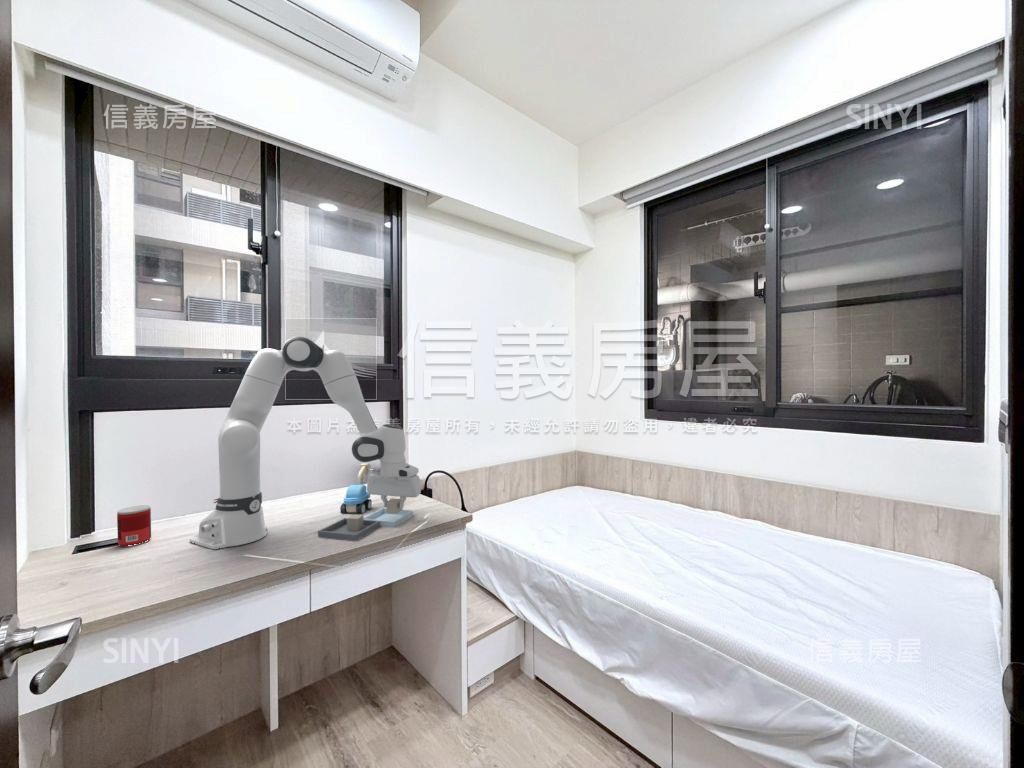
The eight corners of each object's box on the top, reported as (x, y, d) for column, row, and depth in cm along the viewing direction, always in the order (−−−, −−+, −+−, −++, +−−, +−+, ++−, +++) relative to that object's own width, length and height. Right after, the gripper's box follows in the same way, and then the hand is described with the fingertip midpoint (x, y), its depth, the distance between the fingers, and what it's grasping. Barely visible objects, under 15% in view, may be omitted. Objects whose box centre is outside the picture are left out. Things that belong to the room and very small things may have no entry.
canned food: (157, 539, 136) (156, 505, 136) (129, 548, 129) (128, 513, 129) (140, 537, 138) (139, 504, 138) (111, 546, 131) (110, 511, 131)
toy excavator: (379, 503, 173) (378, 462, 173) (360, 516, 157) (359, 471, 156) (359, 503, 174) (358, 462, 174) (339, 516, 157) (338, 470, 157)
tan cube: (347, 530, 140) (346, 518, 140) (352, 526, 144) (352, 514, 144) (358, 530, 140) (358, 518, 140) (363, 526, 144) (363, 514, 144)
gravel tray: (318, 538, 135) (317, 531, 135) (344, 524, 147) (344, 518, 147) (355, 542, 131) (355, 534, 131) (379, 528, 144) (379, 521, 144)
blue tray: (361, 525, 146) (360, 519, 146) (382, 514, 159) (382, 507, 159) (394, 529, 142) (394, 522, 142) (413, 516, 155) (413, 510, 155)
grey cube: (387, 513, 149) (385, 503, 148) (392, 508, 153) (391, 498, 152) (397, 514, 148) (396, 504, 147) (402, 509, 152) (401, 498, 151)
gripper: (362, 470, 149) (363, 508, 150) (413, 472, 144) (414, 512, 144) (373, 466, 156) (373, 503, 156) (422, 468, 150) (423, 507, 150)
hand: (393, 507), depth 150 cm, fingers closed on grey cube, 4 cm apart
